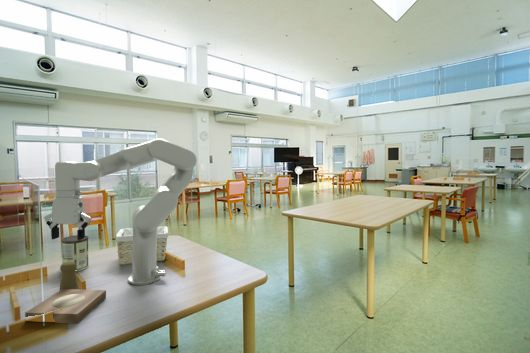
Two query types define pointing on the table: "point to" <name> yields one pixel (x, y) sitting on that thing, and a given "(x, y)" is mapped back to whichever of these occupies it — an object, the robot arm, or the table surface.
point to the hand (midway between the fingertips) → (68, 238)
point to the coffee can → (75, 251)
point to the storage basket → (126, 241)
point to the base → (69, 304)
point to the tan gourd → (68, 276)
